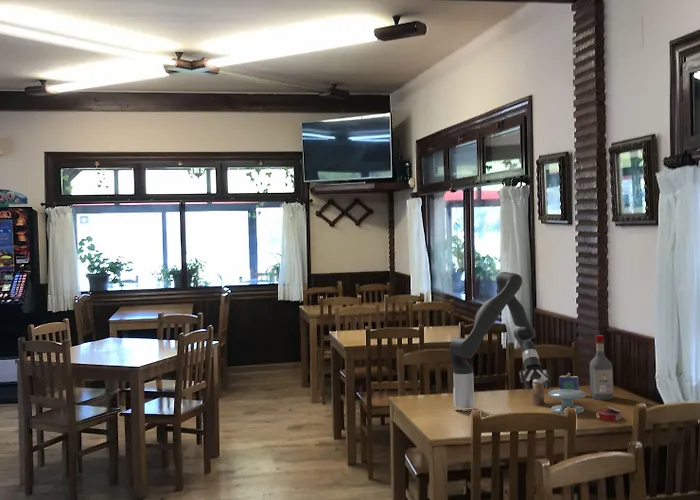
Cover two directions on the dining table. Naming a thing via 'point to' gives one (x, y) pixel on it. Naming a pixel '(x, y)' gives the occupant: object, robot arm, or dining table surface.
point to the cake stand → (567, 399)
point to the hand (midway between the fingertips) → (538, 389)
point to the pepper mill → (538, 392)
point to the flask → (568, 382)
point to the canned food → (608, 414)
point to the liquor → (601, 373)
